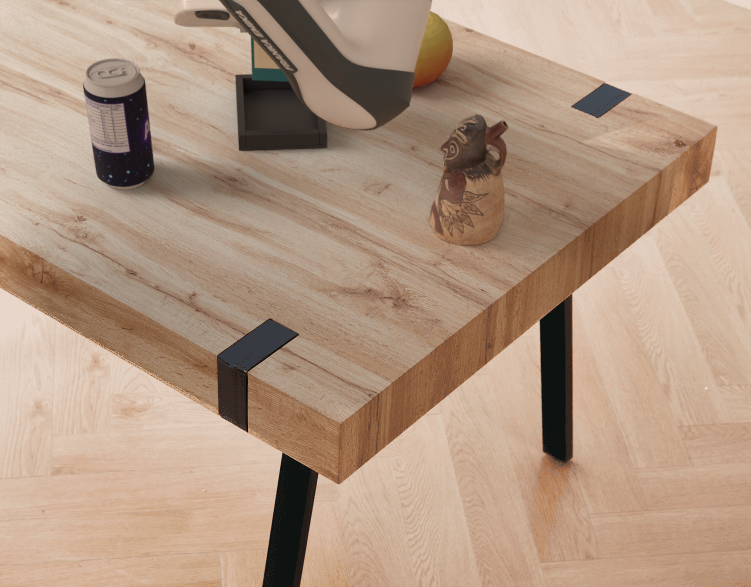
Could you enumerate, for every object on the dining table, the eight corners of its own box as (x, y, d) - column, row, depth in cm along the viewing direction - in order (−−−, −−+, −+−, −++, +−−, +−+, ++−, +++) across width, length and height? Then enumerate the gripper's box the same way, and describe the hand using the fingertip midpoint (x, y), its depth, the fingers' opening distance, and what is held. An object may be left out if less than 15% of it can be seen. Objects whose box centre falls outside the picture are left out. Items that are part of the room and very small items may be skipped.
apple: (350, 66, 126) (352, 3, 121) (420, 48, 130) (425, -14, 124) (394, 106, 120) (398, 41, 114) (466, 86, 124) (473, 22, 118)
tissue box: (307, 44, 116) (307, -44, 109) (303, 82, 109) (303, -9, 103) (258, 42, 115) (256, -46, 109) (252, 80, 109) (248, -11, 103)
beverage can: (160, 188, 106) (149, 82, 98) (102, 198, 105) (86, 91, 97) (148, 157, 110) (137, 52, 102) (92, 166, 109) (76, 60, 101)
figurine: (440, 195, 108) (451, 90, 100) (509, 210, 106) (526, 106, 98) (420, 236, 103) (430, 130, 95) (492, 253, 101) (509, 147, 93)
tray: (317, 87, 122) (317, 72, 121) (326, 148, 113) (327, 132, 112) (235, 89, 121) (235, 74, 120) (238, 150, 112) (238, 135, 111)
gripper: (392, -55, 97) (379, -4, 111) (164, -58, 96) (180, -6, 110) (393, 13, 97) (380, 56, 111) (164, 11, 96) (180, 55, 109)
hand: (279, 25), depth 110 cm, fingers closed on tissue box, 5 cm apart
